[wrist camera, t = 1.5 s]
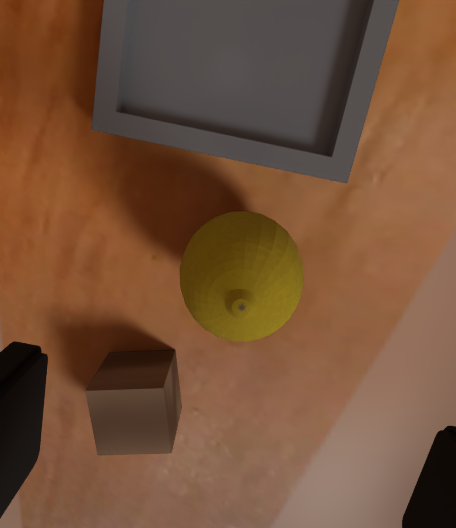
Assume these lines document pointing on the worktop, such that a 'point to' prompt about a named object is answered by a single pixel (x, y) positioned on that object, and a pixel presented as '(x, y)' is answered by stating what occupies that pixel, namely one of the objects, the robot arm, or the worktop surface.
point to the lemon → (241, 276)
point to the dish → (243, 77)
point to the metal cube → (135, 403)
